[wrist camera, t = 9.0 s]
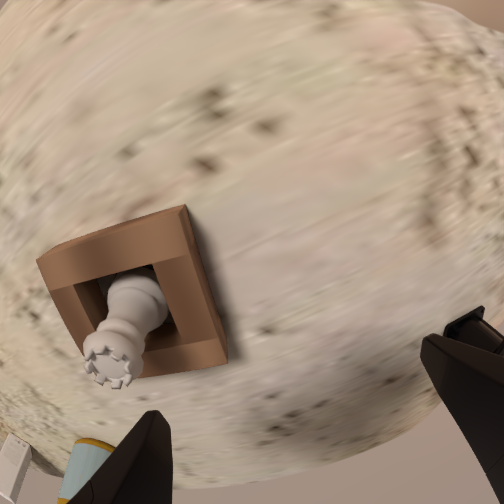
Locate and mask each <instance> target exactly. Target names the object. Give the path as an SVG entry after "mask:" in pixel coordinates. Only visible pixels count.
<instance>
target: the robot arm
mask: <svg viewBox="0 0 504 504" xmlns="http://www.w3.org/2000/svg"><path fill="white" fill-rule="evenodd" d="M484 310H485V307H483V306H480V307H478V308H476V309H475V310H473V311H471V312H470V313H468V314H466V315H464V316H462V317H461V318H459V319H457V320H455V321H453V322H451V323H450V324H448V325H447V326H446V328H445V333H444V337H443V336H440V335H438V334H434V333H432V334H430V335H428V336H426V337H424V338H423V340H422V346H421V353H420V358H421V361H422V363H423V365H424V367H425V369H426V371H427V373H428V375H429V377H430V379H431V381H432V383H433V385H434V387H435V389H436V391H437V392H438V394H439V396H440V397H441V399H442V401H443V402H444V404H445V405H446V407H447V408H448V410H449V412H450V413H451V415H452V416H453V418H454V419H455V421H456V423H457V425H458V426H459V428H460V429H461V431H462V433H463V434H464V436H465V438H466V440H467V441H468V443H469V445H470V447H471V448H472V450H473V452H474V454H475V455H476V457H477V459H478V461H479V463H480V465H481V466H482V468H483V470H484V472H485V473H486V476H487V478H488V480H489V481H490V484H491V486H492V488H493V490H494V492H495V494H496V496H497V498H498V500H499V502H500V504H504V336H503V335H501V334H500V333H499V332H498V331H497V330H496V329H494V328H493V327H492V326H491V325H489V324H488V323H487V322H486V321H484V320H483V315H484ZM172 483H173V458H172V444H171V429H170V425H169V424H168V422H167V421H166V419H165V418H164V417H163V415H162V414H161V413H160V411H158V410H152V411H147V412H145V414H144V415H143V416H142V417H141V418H140V420H139V421H138V422H137V423H136V424H135V426H134V427H133V428H132V429H131V430H130V432H129V433H128V434H127V435H126V436H125V438H124V439H123V440H122V441H121V442H120V444H119V445H118V446H117V447H116V448H115V450H114V451H113V452H112V453H111V454H110V455H109V457H108V458H107V459H106V460H105V461H104V463H103V464H102V465H101V466H100V467H99V468H98V470H97V471H96V472H95V473H94V474H93V475H92V477H91V478H90V479H89V480H88V481H87V482H86V483H85V485H84V486H83V487H82V488H81V489H80V490H79V491H78V492H77V493H76V494H75V495H74V496H73V497H72V498H71V499H70V500H69V501H68V502H67V503H66V504H172Z"/></svg>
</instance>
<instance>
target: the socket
mask: <svg viewBox="0 0 504 504" xmlns="http://www.w3.org/2000/svg"><path fill="white" fill-rule="evenodd" d="M36 262H37V264H38V267H39V269H40V272H41V274H42V277H43V279H44V281H45V284H46V286H47V288H48V290H49V293H50V295H51V297H52V299H53V301H54V303H55V305H56V307H57V309H58V311H59V313H60V315H61V317H62V319H63V321H64V323H65V325H66V327H67V329H68V330H69V332H70V334H71V336H72V338H73V339H74V341H75V343H76V345H77V346H78V348H79V350H80V351H81V353H82V355H83V356H84V357H85V355H84V352H83V343H84V341H85V339H86V337H87V336H88V335H90V334H92V333H94V332H95V331H97V328H98V326H99V324H100V323H101V322H102V321H104V320H106V319H107V316H108V313H109V309H108V305H107V303H106V301H105V299H104V296H103V294H102V292H101V290H100V287H99V285H98V283H97V280H96V278H99V277H103V276H106V275H110V274H114V273H118V272H121V271H125V270H129V269H133V268H137V267H140V266H144V265H148V264H152V265H153V268H154V270H155V273H156V276H157V279H158V281H159V284H160V287H161V289H162V292H163V294H164V297H165V299H166V302H167V305H168V307H169V309H170V312H171V314H172V317H173V319H174V322H173V323H168V324H164V325H160V326H159V327H158V328H156V329H154V330H152V331H150V332H148V334H147V335H146V337H145V339H144V342H145V348H144V352H143V353H142V355H141V357H142V360H143V362H144V364H143V372H142V373H141V374H140V375H139V377H138V378H144V377H151V376H159V375H166V374H172V373H179V372H185V371H191V370H196V369H202V368H207V367H212V366H217V365H222V364H227V363H228V357H227V341H226V335H225V332H224V329H223V326H222V323H221V320H220V317H219V314H218V311H217V308H216V305H215V302H214V299H213V296H212V293H211V290H210V287H209V283H208V280H207V277H206V274H205V271H204V267H203V264H202V261H201V258H200V254H199V251H198V248H197V244H196V241H195V237H194V234H193V231H192V227H191V224H190V220H189V217H188V213H187V209H186V206H185V204H184V205H180V206H177V207H173V208H170V209H166V210H163V211H159V212H156V213H152V214H149V215H146V216H142V217H139V218H136V219H133V220H129V221H126V222H123V223H120V224H117V225H114V226H111V227H108V228H105V229H102V230H99V231H96V232H93V233H90V234H87V235H84V236H81V237H78V238H76V239H73V240H70V241H67V242H64V243H62V244H59V245H57V246H55V247H54V248H52V249H51V250H49V251H48V252H46V253H45V254H43V255H42V256H41V257H39V258H38V259H36ZM93 372H94V371H93ZM94 373H95V372H94ZM95 375H96V376H97V374H96V373H95ZM105 381H107V380H105ZM105 381H104V382H105Z"/></svg>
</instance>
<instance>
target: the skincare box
mask: <svg viewBox="0 0 504 504" xmlns="http://www.w3.org/2000/svg"><path fill="white" fill-rule="evenodd" d="M31 459H32V452H31V448H30V445H29V444H28V443H26V442H25V441H23V440H21V439H20V438H18V437H17V436H15V435H14V434H12V433H11V432H10V433H9V435H8V437H7V439H6V441H5V443H4V445H3V447H2V449H1V452H0V495H1V496H3V497H5V498H6V499H7V500H9V501H11V502H12V503H14V504H16V501H17V498H18V495H19V492H20V489H21V486H22V483H23V480H24V477H25V474H26V472H27V469H28V466H29V464H30V461H31Z"/></svg>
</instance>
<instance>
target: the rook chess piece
mask: <svg viewBox="0 0 504 504" xmlns="http://www.w3.org/2000/svg"><path fill="white" fill-rule="evenodd" d="M107 303H108V309H109V313H108V316H107V319H106V320H104V321H102V322H101V323H100V324H99V326H98V328H97V331H95V332H94V333H92V334H90V335H88V336H87V337H86V339H85V341H84V343H83V352H84V355H85V357H84V358H83V359H84V360H86V363H85V365H84V368H85V370H86V372H87V374H90V373H92V372H93V371H94V372H95V373H96V374H97V376H96V378H95V380H94V381H95V382H97V383H99V384H100V385H102V386H103V384H104V381H105V380H107V381H110V382H112V383H111V388H112V389H121V386H122V383H123V384H124V385H126V386H127V387H128V385H129V384H130V383H131V382H132V380H133V379H136V378H138V377H139V375H140V374H141V373H142V372H143V364H144V362H143V360H142V357H141V355H142V353H143V352H144V348H145V342H144V339H145V337H146V335H147V334H148V332H150V331H152V330H154V329H156V328H158V327H159V326H160V325H161V324H162V323H163V322H164V320H165V319H166V318H167V317H168V313H169V311H170V309H169V307H168V305H167V302H166V299H165V297H164V294H163V292H162V289H161V287H160V284H159V281H158V279H157V276H156V273H155V272H154V271H153V270H151V269H148V268H144V267H137V268H133V269H129V270H125V271H121V272H119V273H118V274H117V275H116V277H115V279H114V280H113V282H112V284H111V286H110V287H109V290H108V300H107Z"/></svg>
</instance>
